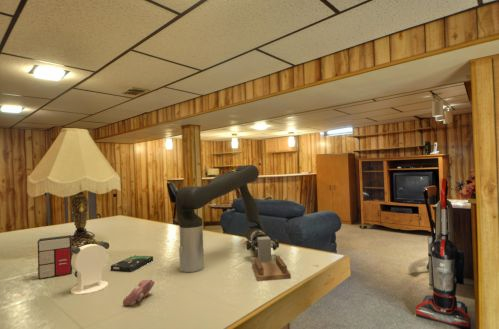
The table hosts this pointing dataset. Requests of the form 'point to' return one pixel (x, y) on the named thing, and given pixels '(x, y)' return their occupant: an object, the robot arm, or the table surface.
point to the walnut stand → (270, 270)
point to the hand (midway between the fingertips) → (264, 248)
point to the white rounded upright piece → (89, 267)
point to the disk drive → (131, 263)
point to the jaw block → (264, 249)
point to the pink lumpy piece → (139, 292)
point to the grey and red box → (54, 256)
